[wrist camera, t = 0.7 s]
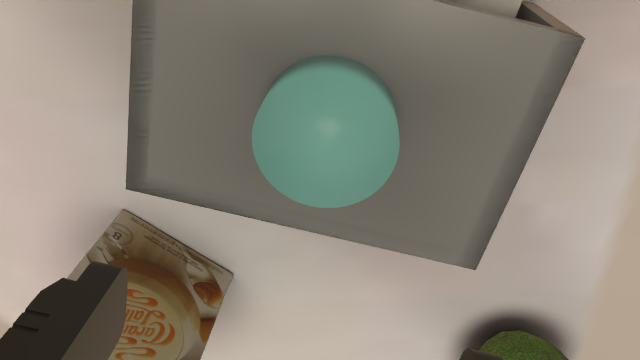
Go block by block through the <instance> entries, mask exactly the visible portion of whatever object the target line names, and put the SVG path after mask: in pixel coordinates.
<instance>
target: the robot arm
mask: <svg viewBox="0 0 640 360" xmlns="http://www.w3.org/2000/svg"><path fill="white" fill-rule="evenodd" d="M127 285H128V271H127V269H126V268H123V267H119V266H114V265H110V264H106V263H101V262H97V261H93V262H91V263H90V264H89V265H88V266H87V268H86V269H85V270H84V272H83V273H82V274H81V276H80V277H79V278H78V279H77V281H74V280H70V279H65V278H62V279H60V280H58V281H57V282H55V283H53V284H52V285H50V286H48V287H47V288H45V289H43V290H42V291H40V293H39V294H38V295H37V296H36V297H35V299H34V300H33V301H32V302H31V303H30V304H29V306H28V307H27V308H26V310H25V312H24V313H22V314H21V315H20V316H19V318H18V319H17V320H16V321H15V322H14V323H13V327H12V328H9V329H8V331H7V332H6V333H5V334H4V335H3V337H2V338H1V339H0V360H108V359H109V357H110V355H111V354H112V352H113V350H114V348H115V347H116V345H117V343H118V341H119V339H120V336H121V334H122V331H123V328H124V324H125V319H126V306H127ZM459 360H503V359H502V358H501V356H499V355H496V354H491V353H487V352H483V351H478V350H474V349H470V348H467V349H466V350H465V351H464V352H463V354H462V355H461V357H460V359H459Z"/></svg>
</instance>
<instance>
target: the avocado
mask: <svg viewBox="0 0 640 360" xmlns="http://www.w3.org/2000/svg"><path fill="white" fill-rule="evenodd" d="M478 351H483V352H487V353H491V354H496V355H499V356H501V358H502V359H503V360H568V359H567V358H566V357H565V356H564V355H563V353H562V352H561V351H559V350H558V349H557V348H556V347H554V346H553V345H551V344H550V343H548V342H547V341H545V340H544V339H542V338H540V337H537V336H535V335H532V334H529V333H526V332H524V331H519V330H518V331H504V332H500V333H498V334H497V335H495V336H493V337H492V338H490V339H488V340H487V341H486V342H485V343H484V344H483V345H482V346H481V348H480V349H479V350H478Z"/></svg>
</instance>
